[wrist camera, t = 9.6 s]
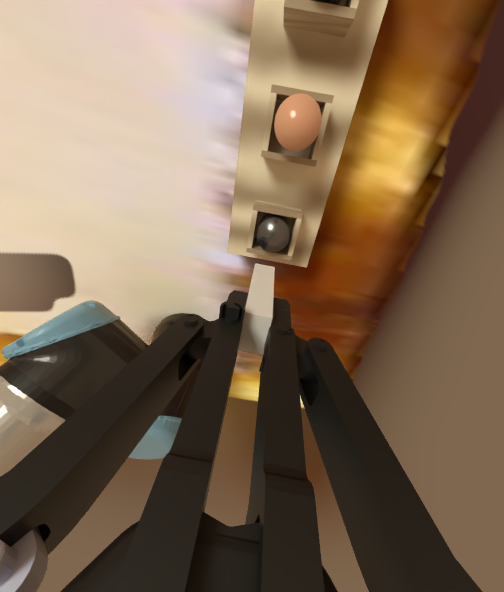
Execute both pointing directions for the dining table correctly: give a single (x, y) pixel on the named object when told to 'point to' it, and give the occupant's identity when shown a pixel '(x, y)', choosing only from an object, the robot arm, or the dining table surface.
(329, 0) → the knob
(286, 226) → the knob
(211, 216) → the dining table surface
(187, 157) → the dining table surface
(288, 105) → the knob middle
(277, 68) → the beige long block
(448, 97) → the dining table surface
